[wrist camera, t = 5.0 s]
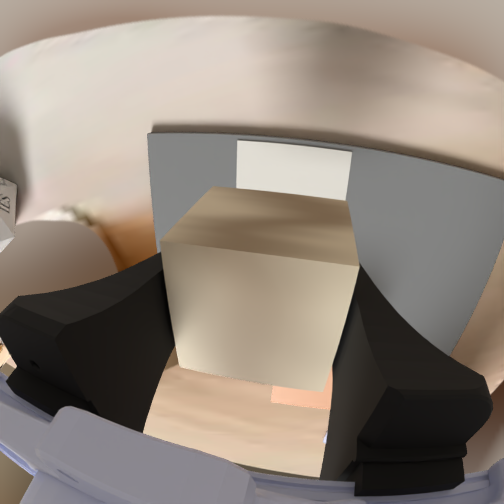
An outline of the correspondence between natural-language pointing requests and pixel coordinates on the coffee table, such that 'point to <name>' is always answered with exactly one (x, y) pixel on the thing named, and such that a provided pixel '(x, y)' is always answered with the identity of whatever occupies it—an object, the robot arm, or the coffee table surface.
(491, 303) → the coffee table surface
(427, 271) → the build mat
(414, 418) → the robot arm
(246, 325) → the birch block
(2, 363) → the beer glass
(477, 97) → the coffee table surface
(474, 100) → the coffee table surface
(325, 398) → the terracotta block
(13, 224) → the die
